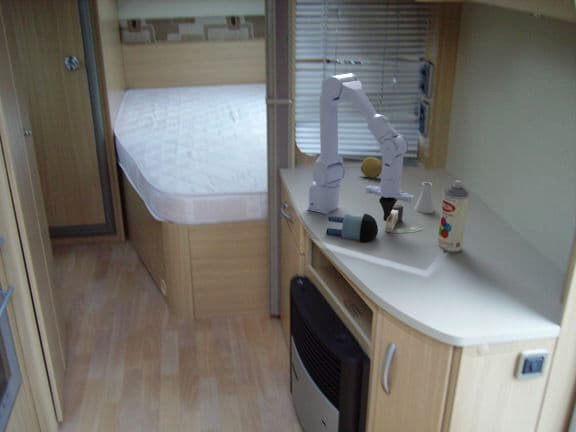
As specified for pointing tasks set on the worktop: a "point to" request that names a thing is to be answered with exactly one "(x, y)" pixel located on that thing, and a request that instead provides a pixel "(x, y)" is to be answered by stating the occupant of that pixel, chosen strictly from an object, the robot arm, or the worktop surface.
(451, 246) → the aerosol can
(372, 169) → the potato
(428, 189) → the flask
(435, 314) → the worktop surface
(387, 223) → the peg
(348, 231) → the toy
